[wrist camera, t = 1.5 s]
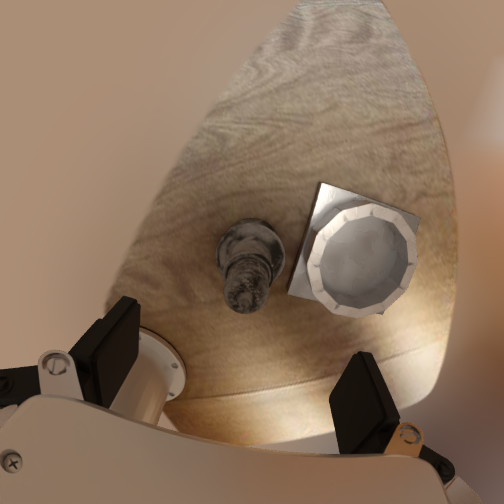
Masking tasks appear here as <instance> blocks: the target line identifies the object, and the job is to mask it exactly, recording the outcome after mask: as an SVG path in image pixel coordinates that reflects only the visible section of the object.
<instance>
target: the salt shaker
mask: <svg viewBox="0 0 504 504" xmlns="http://www.w3.org/2000/svg"><path fill="white" fill-rule="evenodd" d="M215 260H216V264H217V268H218V270H219V271H220V273H221V275H222V276H223V279H224V283H225V286H224V292H223V294H224V298H225V301H226V303H227V305H228V306H229V307H230V308H231V309H232V310H234V311H235V312H238V313H241V314H250V313H254V312H256V311H258V310H260V309H261V308H262V307H263V306H264V305H265V303H266V301H267V299H268V296H269V287H270V286H271V284H272V282H274V281H275V280H276V279H277V278H278V276H279V275H280V274H281V272H282V270H283V267H284V264H285V249H284V246H283V244H282V242H281V239H280V238H279V237H278V236H277V234H276V231H275V230H274V229H273V228H272V226H270V225H269V224H268V223H266V222H265V221H262V220H259V219H253V218H249V219H243V220H241V221H239V222H236V223H235V224H234V225H233V226H232V227H231V228H230V229H229V230H228V231H227V232H226V233H225V234H224V235H223V236H222V238H221V239H220V240H219V242H218V245H217V248H216V255H215Z"/></svg>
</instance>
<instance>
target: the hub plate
mask: <svg viewBox="0 0 504 504" xmlns="http://www.w3.org/2000/svg"><path fill="white" fill-rule="evenodd" d="M420 220H421V218H419V217H417V216H415V215H412V214H410V213H407V212H405V211H402V210H399V209H397V208H394V207H391V206H389V205H386V204H383V203H381V202H378V201H375V200H372V199H369V198H367V197H364V196H361V195H358V194H355V193H352V192H349V191H346V190H343V189H340V188H337V187H334V186H331V185H327V184H324V183H321V182H319V185H318V189H317V192H316V196H315V199H314V203H313V206H312V209H311V213H310V216H309V219H308V223H307V226H306V229H305V233H304V236H303V239H302V242H301V246H300V249H299V252H298V255H297V258H296V261H295V265H294V268H293V271H292V274H291V277H290V280H289V283H288V286H287V294H289V295H293V296H297V297H302V298H306V299H311V300H315V301H320V302H321V303H322V304H323V305H324V306H325V307H326V308H327V309H328V310H329V311H331V312H332V313H333V314H338V315H343V316H348V317H353V318H358V317H359V318H362V317H365V316H368V315H372V314H375V313H376V314H382V315H383V313H384V311H385V310H386V309H387V308H388V307H389V306H390V305H391V304H392V303H394V302H395V301H396V300H397V299H398V298H399V297H400V296H401V295H402V294H403V293H404V292H405V290H407V288H408V285H409V283H410V281H411V278H412V276H413V273H414V271H415V269H416V266H417V250H416V238H415V235H416V232H417V229H418V226H419V223H420Z"/></svg>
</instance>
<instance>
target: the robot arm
mask: <svg viewBox="0 0 504 504" xmlns="http://www.w3.org/2000/svg"><path fill="white" fill-rule="evenodd" d="M140 308H141V306H140V304H138V303H137V300H136V299H133V298H130V297H127V296H123V297H122V298H121V299H120V300H119V301H118V302H117V303H116V304H115V306H114V307H113V308H112V309H111V310H110V311H109V312H108V313H107V314H106V316H105V317H104V318H103V319H98V320H96V322H95V323H94V324H93V325H92V326H91V327H90V328H89V329H88V330H87V332H86V333H85V334H84V335H83V336H82V337H81V338H80V339H79V340H78V342H77V343H76V344H75V345H74V346H73V347H72V349H71V350H70V351H69V352H68V353H66V352H64V351H60V350H51V351H48V352H45V353H44V354H43V355H41V356H40V359H39V361H38V365H35V366H28V367H20V368H10V369H0V504H481V500H480V498H479V496H478V495H477V494H476V493H475V492H474V491H473V490H472V489H471V488H470V487H468V485H467V484H466V483H465V482H464V481H463V480H462V479H461V478H460V477H459V476H457V477H456V478H455V477H454V475H455V469H454V466H453V464H452V463H451V462H450V461H449V460H448V459H446V458H444V457H443V456H441V455H439V454H437V453H436V452H434V451H433V450H431V449H430V448H428V447H426V446H425V445H423V442H424V435H423V433H422V431H421V430H420V428H419V427H418V426H416V425H415V424H412V423H409V422H403V423H401V424H400V422H399V419H400V415H399V413H398V411H397V408H396V406H395V404H394V401H393V399H392V397H391V394H390V392H389V390H388V388H387V385H386V383H385V381H384V379H383V377H382V374H381V372H380V370H379V368H378V366H377V364H376V361H375V359H374V357H373V355H372V354H371V353H369V352H362V351H359V352H358V353H357V354H354V355H353V356H352V358H351V360H350V362H349V363H348V365H347V367H346V369H345V370H344V372H343V374H342V376H341V377H340V379H339V381H338V382H337V384H336V386H335V387H334V389H333V391H332V392H331V394H330V396H329V404H330V408H331V413H332V418H333V422H334V427H335V432H336V437H337V442H338V447H339V452H340V454H314V453H298V452H286V451H276V450H267V449H259V448H252V447H246V446H240V445H234V444H229V443H223V442H218V441H214V440H209V439H204V438H200V437H196V436H192V435H188V434H184V433H180V432H177V431H173V430H169V429H166V428H163V427H159V426H157V424H158V421H159V418H160V415H161V413H162V410H163V407H164V404H165V402H166V401H169V400H171V399H174V398H176V397H177V396H178V395H179V394H180V393H181V392H182V390H183V388H184V385H185V383H186V369H185V366H184V363H183V361H182V359H181V358H180V356H179V354H178V353H177V352H176V351H175V350H174V348H173V347H172V346H171V345H170V344H168V343H167V342H166V341H165V340H164V339H162V338H161V337H159V336H158V335H156V334H154V333H152V332H151V331H149V330H146V329H143V328H141V327H140Z"/></svg>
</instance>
